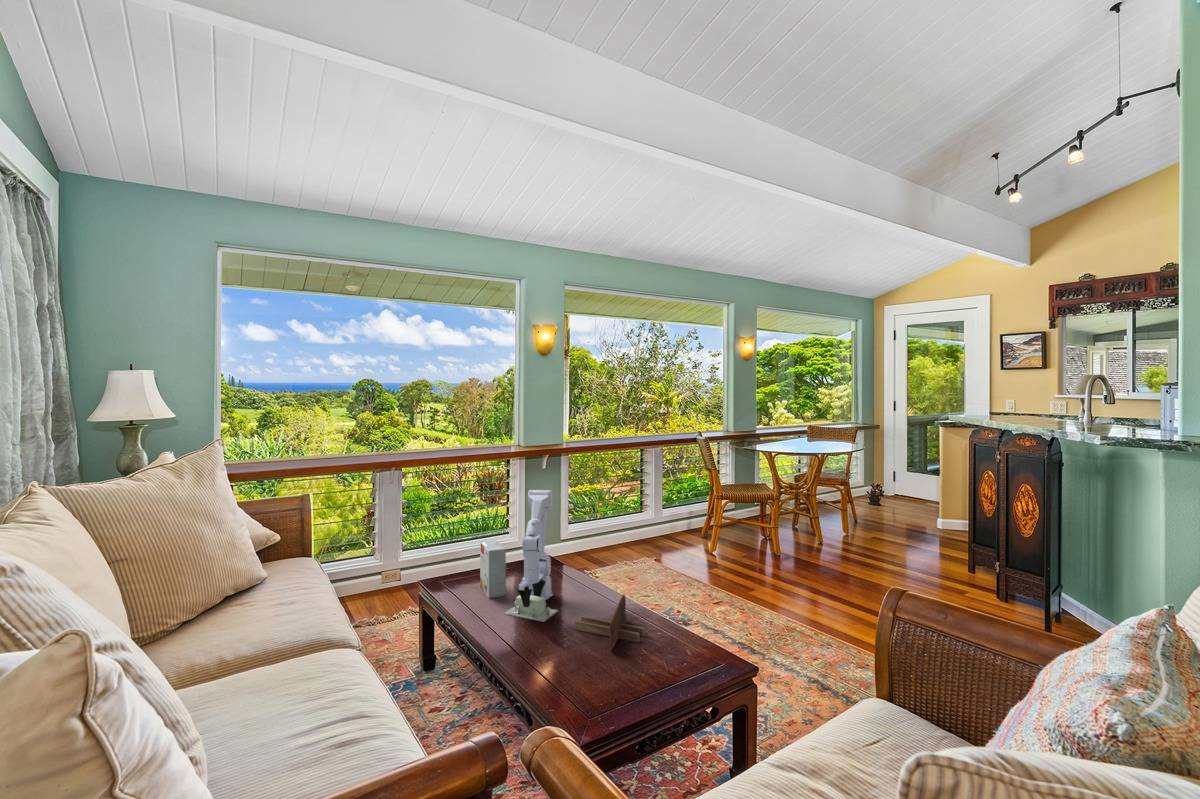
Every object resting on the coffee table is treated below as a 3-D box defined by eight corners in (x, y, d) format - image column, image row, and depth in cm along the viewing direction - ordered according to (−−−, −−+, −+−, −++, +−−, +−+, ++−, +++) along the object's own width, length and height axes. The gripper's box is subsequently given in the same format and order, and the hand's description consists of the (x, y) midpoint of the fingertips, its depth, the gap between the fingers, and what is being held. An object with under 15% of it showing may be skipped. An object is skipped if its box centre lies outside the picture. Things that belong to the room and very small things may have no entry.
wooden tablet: (614, 653, 176) (614, 622, 176) (607, 652, 177) (608, 621, 177) (627, 619, 202) (628, 592, 202) (622, 619, 203) (622, 592, 203)
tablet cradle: (582, 623, 200) (582, 615, 200) (644, 636, 189) (644, 627, 189) (575, 630, 194) (575, 621, 194) (638, 643, 184) (638, 634, 184)
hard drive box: (479, 587, 239) (479, 541, 239) (497, 584, 242) (497, 539, 242) (488, 599, 225) (488, 550, 225) (506, 596, 228) (506, 548, 228)
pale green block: (515, 610, 210) (515, 597, 210) (522, 606, 214) (522, 593, 214) (538, 615, 205) (538, 601, 205) (544, 610, 209) (544, 597, 209)
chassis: (505, 614, 208) (505, 605, 208) (520, 605, 217) (520, 596, 217) (543, 622, 201) (543, 612, 201) (557, 612, 210) (557, 603, 210)
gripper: (533, 561, 218) (533, 595, 218) (511, 571, 204) (511, 607, 204) (548, 563, 214) (548, 598, 214) (527, 574, 201) (527, 611, 201)
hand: (531, 603), depth 209 cm, fingers open, 7 cm apart
